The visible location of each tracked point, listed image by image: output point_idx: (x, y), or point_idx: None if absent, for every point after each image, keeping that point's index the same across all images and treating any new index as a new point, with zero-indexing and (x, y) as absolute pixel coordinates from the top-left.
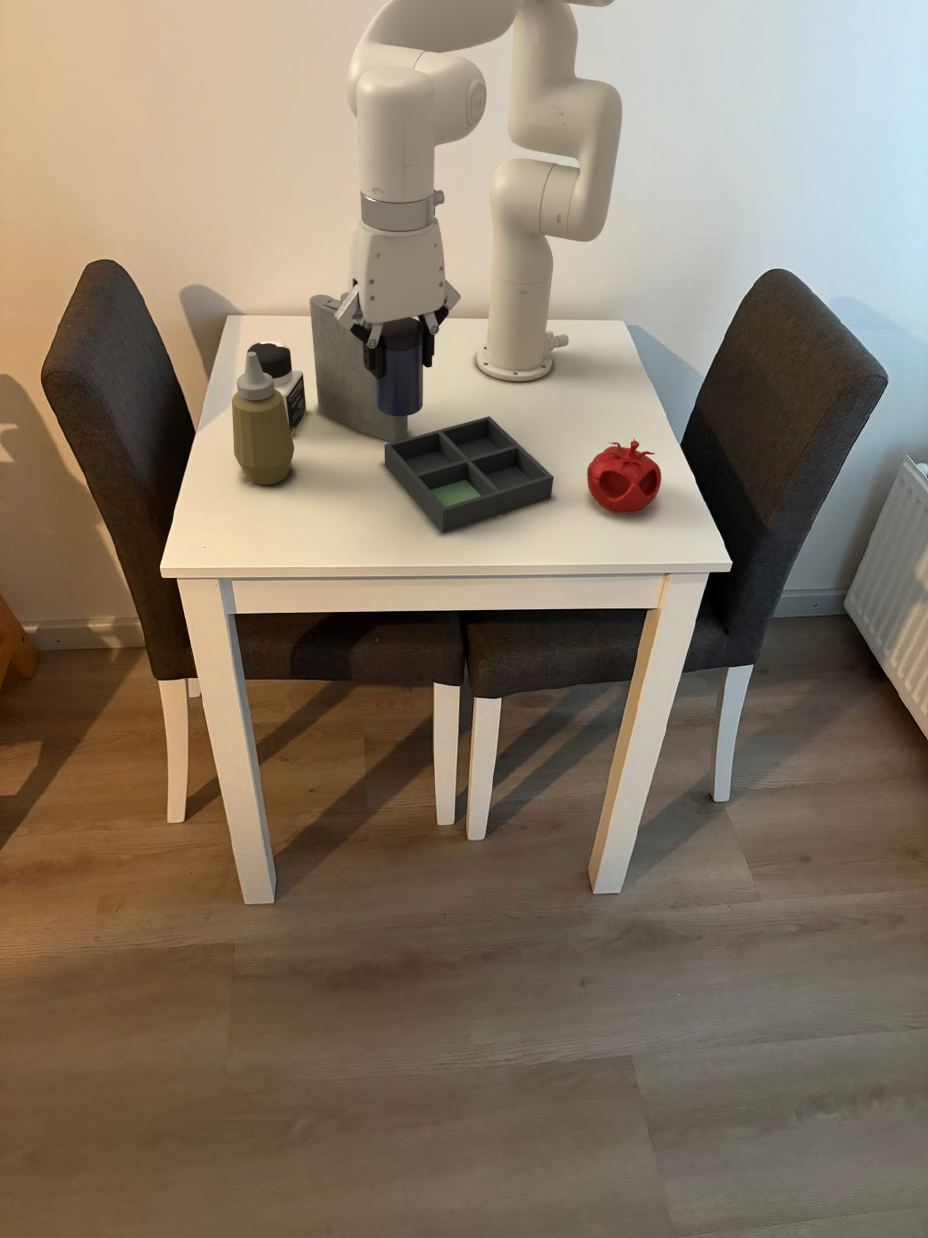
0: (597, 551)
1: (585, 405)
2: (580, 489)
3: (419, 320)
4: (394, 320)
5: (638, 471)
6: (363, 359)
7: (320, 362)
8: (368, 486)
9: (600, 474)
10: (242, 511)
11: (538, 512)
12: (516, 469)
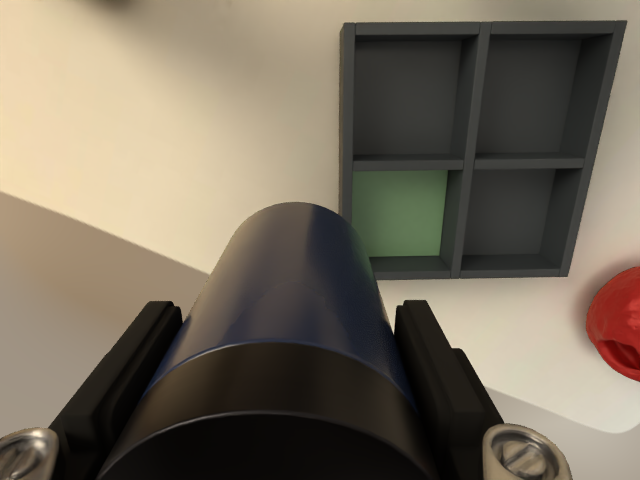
0: (507, 376)
1: None
2: (599, 257)
3: (481, 473)
4: (280, 477)
5: None
6: (98, 364)
7: None
8: (280, 86)
9: (624, 343)
10: (26, 53)
11: (499, 278)
12: (549, 172)
